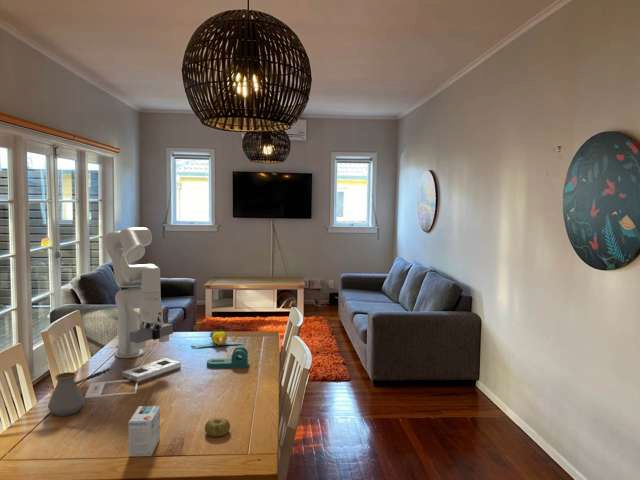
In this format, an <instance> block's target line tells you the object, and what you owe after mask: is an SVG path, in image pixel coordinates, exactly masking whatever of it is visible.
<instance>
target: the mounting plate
mask: <svg viewBox="0 0 640 480" xmlns="http://www.w3.org/2000/svg"><path fill="white" fill-rule="evenodd" d="M181 364H182V363H181V361H178V360H175V359H171V358H167V357H163V358H161V359H158V360H155V361H152V362H149V363H146V364H142V365H139V366H136V367H133V368H130V369H127V370H123V371H121V376H122V377H121V378H122V380H129V381H128V382H130V383H132V384H133V383H134V384H136V383H138V385H139V384H141V383H144V382H147V381H149V380H153V379H157V378H159V377H162V376H164V375H167V374H169V373H173V372H176V371H178V370H181V368H182V365H181Z"/></svg>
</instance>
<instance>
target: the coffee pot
mask: <svg viewBox="0 0 640 480" xmlns="http://www.w3.org/2000/svg"><path fill="white" fill-rule="evenodd" d="M107 372H109V374H110V375H112V374H113V369H112V368H107V369H103V370H101V371H99V372H96V373H93V374H91V375H89V376H87V377H85V378H83V379H82V378H81V379H80V380H78V381H75V378H76V376H77V374H76V372H72V371H71V372H70V371H69V372H62V373H59V374H56V375H55V379H56V381H57V383H56V385H55V388H54V390H53V392H52V394H51V397H50V400H49V401H48V405H47V408H48V410H49V411H50V412H51V413H52V414H54V415H55V416H59V417H64V416H70V415H74V414H76V413H77V412H79V410H80V409H81V408H83V406H84V404H85V400H86V398H85V396H83V394H82V392H81V390H80V388H79V386H78V384H81V383H83V382H85V381H88V380H91V379H94V378H96V377H100V376H101V375H103V374H106V373H107Z"/></svg>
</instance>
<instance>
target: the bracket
mask: <svg viewBox="0 0 640 480" xmlns="http://www.w3.org/2000/svg"><path fill="white" fill-rule="evenodd" d="M248 353H249V352H248V349H247V348H246V347H244V346H242V345H240V346H237V347H235V348H234V349H233V351H232V353H231V354H232V355H231V358H230V357H229V358H210V359H207V360H206V367H207V368H208V369H239V368H240V369H244V368H246V369H247V367H248V363H249V354H248Z"/></svg>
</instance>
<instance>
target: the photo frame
mask: <svg viewBox="0 0 640 480" xmlns="http://www.w3.org/2000/svg"><path fill="white" fill-rule="evenodd" d="M124 382H125V383H126V382H130V381H129V380H124V379H122V380H121V379H120V380H110V381H98V382H97V381H96V382H91V383H90V384H89V387H88V388H87V391H86V394H85V396H84V399H91V398H93V399H95V398H102V397H113V396H122V395H123V396H124V395H135V394H137V392H138V386H139V384H138V383H135V387H134V391H129V392H117V393H108V394H107V393H106V394H102V392H103V390H104V388H105V385H106V384H113V383H114V384H115V383H124Z"/></svg>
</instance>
